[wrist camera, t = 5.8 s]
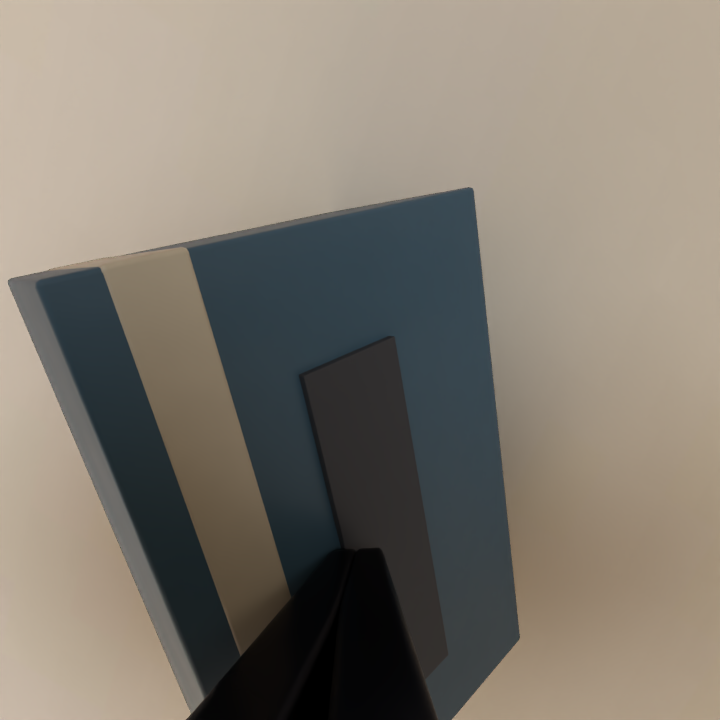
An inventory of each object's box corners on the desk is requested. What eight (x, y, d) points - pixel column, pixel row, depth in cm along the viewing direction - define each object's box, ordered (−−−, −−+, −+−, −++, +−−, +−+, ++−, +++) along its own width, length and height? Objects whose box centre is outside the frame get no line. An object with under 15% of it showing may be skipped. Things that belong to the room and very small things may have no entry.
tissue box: (329, 211, 12) (5, 277, 8) (480, 183, 8) (33, 279, 5) (398, 558, 15) (194, 723, 12) (525, 642, 12) (295, 922, 8)
